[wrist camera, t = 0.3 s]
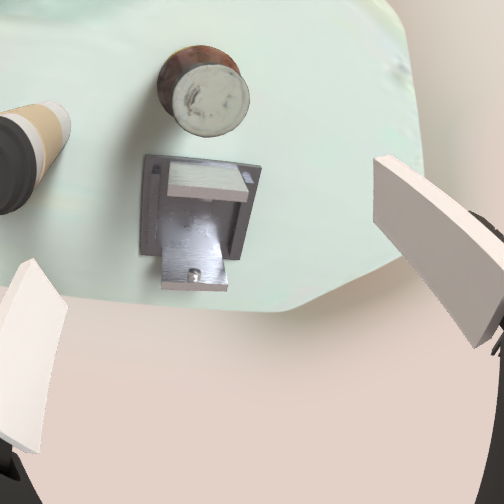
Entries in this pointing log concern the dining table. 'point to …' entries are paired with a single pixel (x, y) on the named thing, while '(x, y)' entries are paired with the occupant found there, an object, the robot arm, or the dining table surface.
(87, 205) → the dining table surface
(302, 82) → the dining table surface
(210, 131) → the sauce bottle
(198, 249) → the clip holder
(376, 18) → the dining table surface
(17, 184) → the coffee cup
